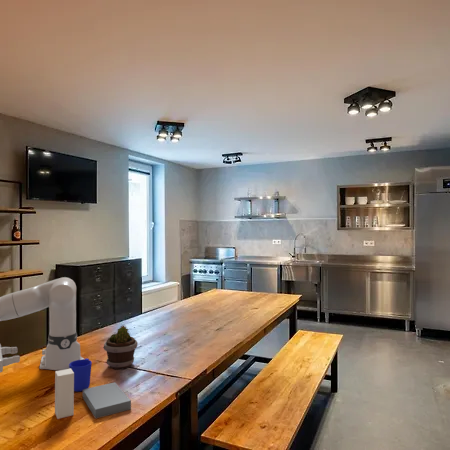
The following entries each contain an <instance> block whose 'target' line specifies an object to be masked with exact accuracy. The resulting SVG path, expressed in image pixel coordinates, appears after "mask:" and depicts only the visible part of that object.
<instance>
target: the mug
mask: <svg viewBox="0 0 450 450" xmlns="http://www.w3.org/2000/svg"><path fill="white" fill-rule="evenodd" d="M92 364H93V363H92V360H90V359H89V358H84V359H83V360H76V361H73V362H71V363H70V364H69V368H68V369H70V368H71V369H72V371H73V372H74V392H83V389H87V388H90V384H91V374H92Z"/></svg>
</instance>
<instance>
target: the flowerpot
mask: <svg viewBox="0 0 450 450" xmlns="http://www.w3.org/2000/svg"><path fill="white" fill-rule="evenodd" d="M102 348H103V349H104V351H106V355H107V359H106V364H107V365H108V366H109V368H110V369H113V370H122V369H128V368H130V367H132V365H133V363H134V362H135V357H134V356H135V355H134V354H135V351H136V349H137V348H138V341H137V340H136V338H135V337H133V336H131V333H130V331H129V328H127V326H126V325H125V324H124V325H123V324H120V326H119V327H118V328H117V329H116V330H115V332H113V333H112V335H111V334H110V337H108V338H107V339H106V342H104V344H103V347H102Z"/></svg>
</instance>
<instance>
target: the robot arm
mask: <svg viewBox="0 0 450 450" xmlns="http://www.w3.org/2000/svg"><path fill="white" fill-rule="evenodd" d="M47 308H49V334H48V338H47V340H48V341H47V345H46V348H44V349H42V352H41V355H42V356H41V359H40V364H39V369H41V370H51V371H52V370H53V371H60V370H65V369H69V364H70V363H71V362H73V361H76V360H83V359H85V358H84V357H82V355H81V343H79V342H78V333H77V285H76V282H75V281H74V280H73V279H71V278H70V277H66V276H64V277H63V276H62V277H60V278H55V279H53V280H49V281H47V282H46V281H45V282H44V283H40V284H38V285H35V286H32V287H28V288H25V289H21V290H18V291H14V292H10V293H7V294H5V295H2V296H0V322H2V321H8V320H12V319H13V320H14V319H16V318H21V317H24V316H27V315H30V314H33V313H34V314H35V313H36V312H40V311H43V310H44V309H47ZM17 353H18V347H17V346H11V347H10V346H2V345H1V343H0V373H2V372H3V369H4V367H8V366H10V365H13V364H16V363H19V362H20V361H21V356H20V355H18V354H17ZM7 354H8V355H9V354H11V355H13V356H10V357H3V356H4V355H7ZM14 354H15V355H14Z"/></svg>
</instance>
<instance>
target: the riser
mask: <svg viewBox="0 0 450 450" xmlns="http://www.w3.org/2000/svg"><path fill="white" fill-rule="evenodd" d="M82 399H83V401H84V403H86V405H87V407H88V409H89V410H90V412H91V413H92V416H93V418H94V419H99V418H103V417H107V416H110V415H114V414H118V413H121V412H126V411H129V410H131V409H132V400H131V399H130V398H129V397H128V395H127V394H126V393H125V392H124V391H123V390H122V388H121V387H120V386H119V385H118V384H117V382H115V381H114V382H110V383H106V384H105V383H104V384H101V385H96V386H92V387H88V388H87V389H83V391H82Z"/></svg>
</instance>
